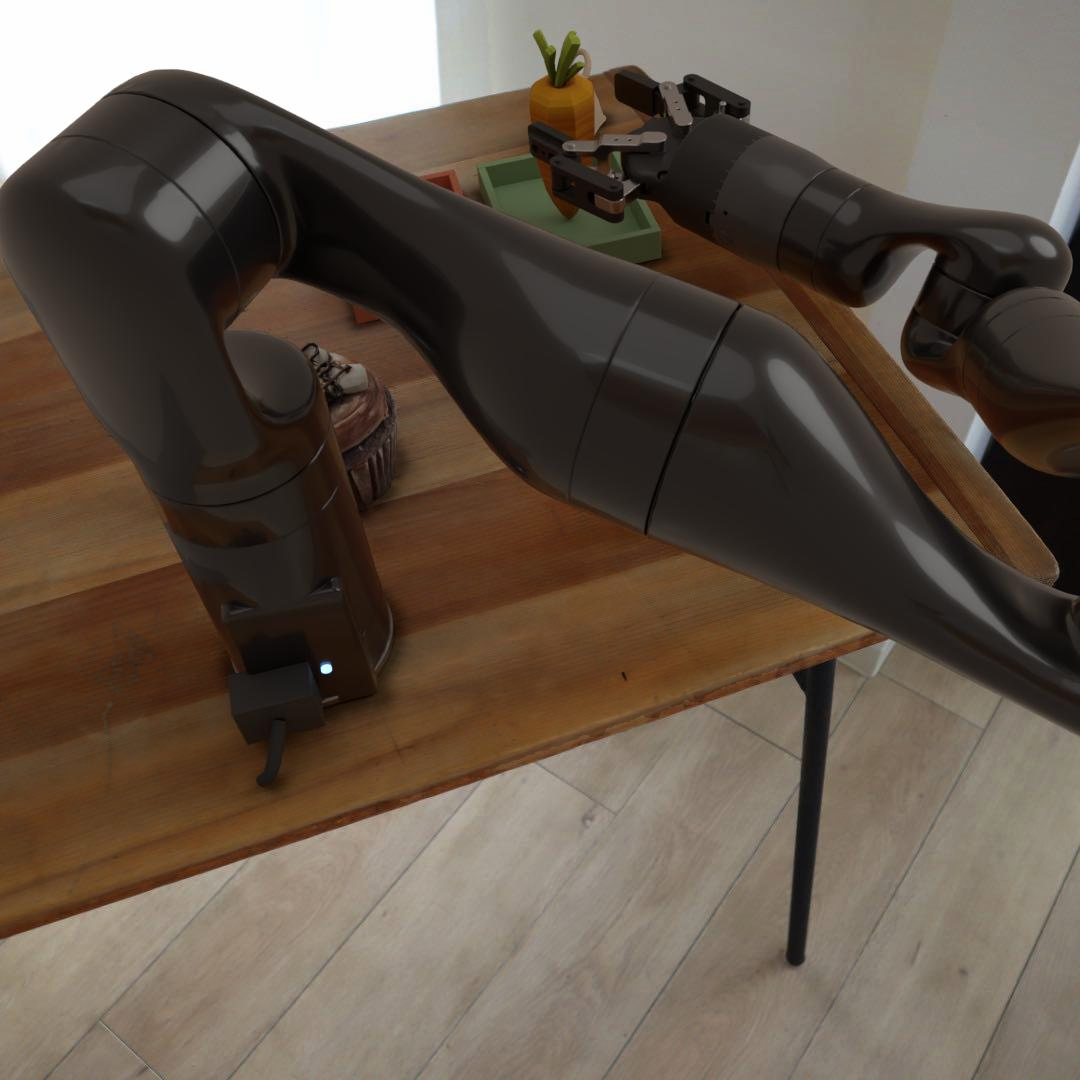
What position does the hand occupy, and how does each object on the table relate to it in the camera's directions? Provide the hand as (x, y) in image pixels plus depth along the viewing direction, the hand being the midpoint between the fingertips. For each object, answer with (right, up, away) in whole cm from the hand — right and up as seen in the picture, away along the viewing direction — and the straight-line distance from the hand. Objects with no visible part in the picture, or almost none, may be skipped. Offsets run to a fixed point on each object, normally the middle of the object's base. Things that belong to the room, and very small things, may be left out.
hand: (575, 108), depth 83 cm
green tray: (0, -6, +9) cm, 11 cm away
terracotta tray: (-12, -9, +8) cm, 17 cm away
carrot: (0, -5, +9) cm, 10 cm away
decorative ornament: (+1, +4, +17) cm, 18 cm away
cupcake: (-16, -26, -6) cm, 31 cm away
